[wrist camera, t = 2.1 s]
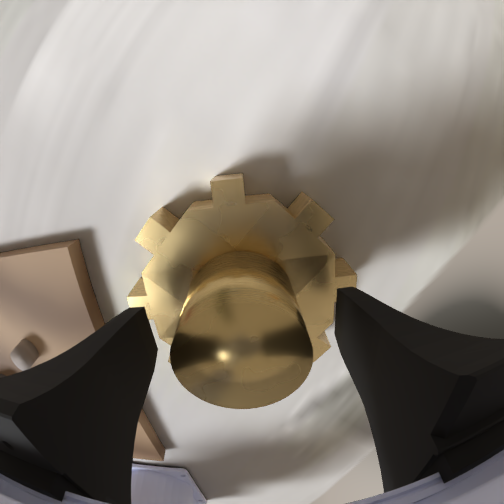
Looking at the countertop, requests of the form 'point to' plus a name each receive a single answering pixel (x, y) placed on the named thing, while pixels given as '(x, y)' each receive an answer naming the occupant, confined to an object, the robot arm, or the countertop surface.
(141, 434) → the carrier plate
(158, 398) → the countertop surface
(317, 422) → the countertop surface
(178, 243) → the brass gear
